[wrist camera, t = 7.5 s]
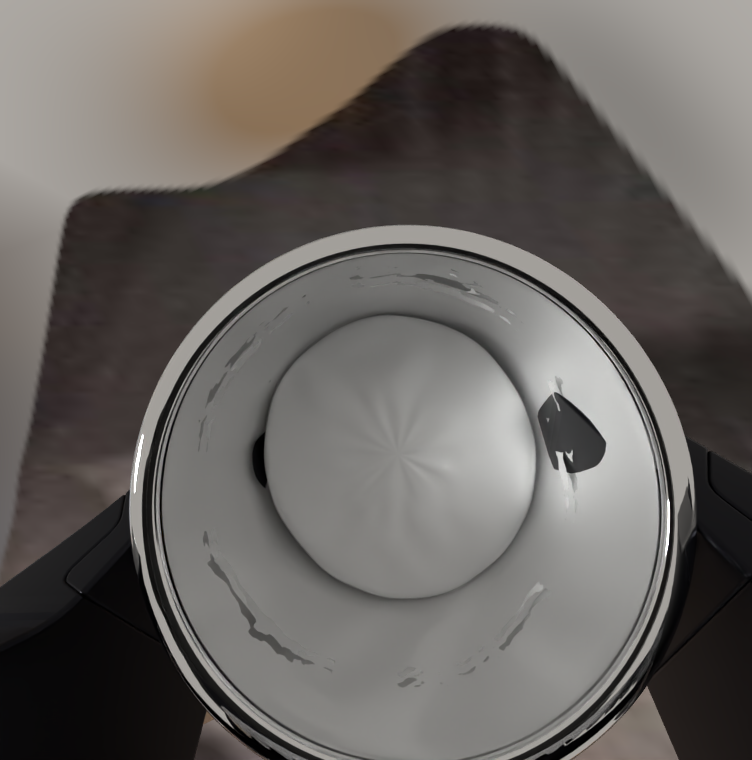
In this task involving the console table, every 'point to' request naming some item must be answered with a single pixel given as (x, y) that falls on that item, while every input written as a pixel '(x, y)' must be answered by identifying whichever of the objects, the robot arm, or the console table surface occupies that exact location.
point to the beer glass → (411, 506)
